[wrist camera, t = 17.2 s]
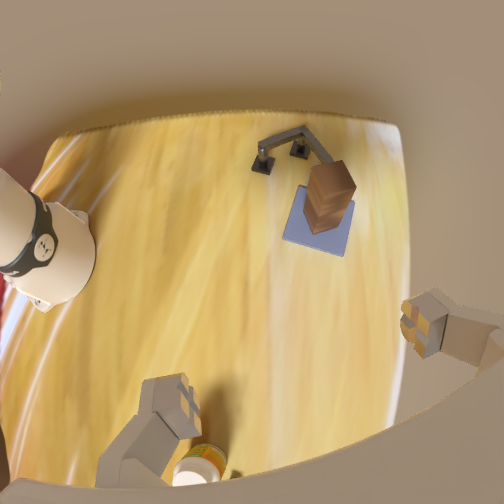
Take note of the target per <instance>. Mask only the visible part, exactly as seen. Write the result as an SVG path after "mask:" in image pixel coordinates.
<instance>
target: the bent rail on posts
mask: <svg viewBox="0 0 504 504" xmlns="http://www.w3.org/2000/svg"><path fill="white" fill-rule="evenodd" d="M295 139H298V141H296V140H295ZM293 140H294V143H293V146H292V149H291V151H290V155H292V156H296V157H300V158H303V159H308V156H309V152H310V149H311V150H312V151H313V152H314V154H315V155H316V156H317V157H318V159H319V160H320V161H321V163H322V164H327V163H331V162H334V160H333V159H332V158H331V156H330V155H329V154H328V153H327V151H326V150H325V149H324V148H323V146H322V145H321V144H320V143H319V142H318V140H317V139H316V138H315V137H314V135H313V134H312V133H311V132H310V131H309V129H308V128H307V127H306V126H304V125H303V126H300V127H297V128H294V129H292V130H289V131H286V132H283V133H281V134H278V135H275V136H272V137H270V138H267V139H265V140H262V141H259V142H258V155H257V157H256V159H255V161H254V164H253V166H252V168H251V169H252V171H255V172H259V173H263V174H267V175H270V173H271V170H272V167H273V165H274V162H275V159H274V158H270V157H268V150H269V149H272V148H274V147H277V146H280V145H282V144H285V143H287V142H290V141H293Z"/></svg>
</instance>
